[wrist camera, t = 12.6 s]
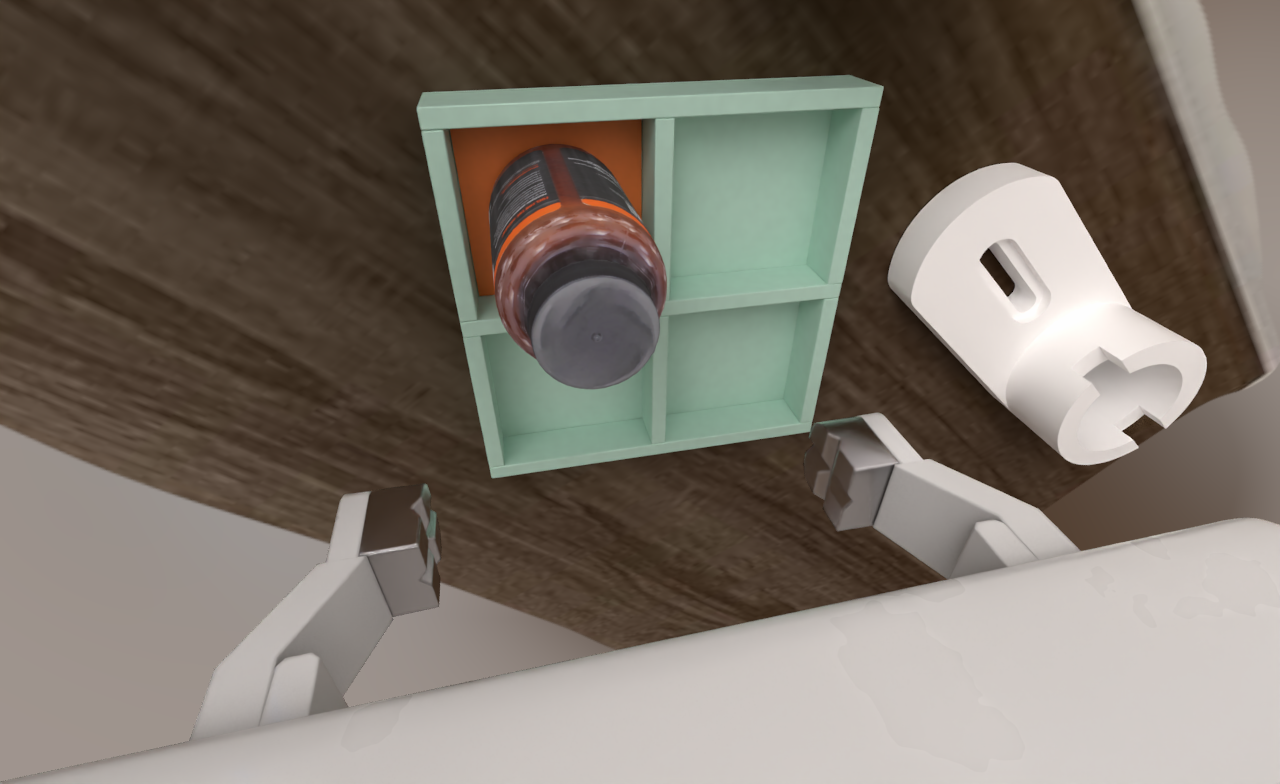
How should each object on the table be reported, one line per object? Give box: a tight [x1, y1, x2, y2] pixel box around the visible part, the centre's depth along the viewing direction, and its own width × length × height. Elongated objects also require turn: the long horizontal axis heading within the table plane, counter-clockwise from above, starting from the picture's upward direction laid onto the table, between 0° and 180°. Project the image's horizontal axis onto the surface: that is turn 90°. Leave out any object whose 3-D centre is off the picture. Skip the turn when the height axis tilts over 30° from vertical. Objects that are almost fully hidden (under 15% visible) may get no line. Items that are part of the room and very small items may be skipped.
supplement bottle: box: [489, 144, 667, 389], centre depth 23 cm, size 6×6×11 cm
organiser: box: [416, 75, 883, 478], centre depth 30 cm, size 18×18×3 cm
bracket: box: [888, 163, 1207, 465], centre depth 34 cm, size 20×9×7 cm, turn 48°
